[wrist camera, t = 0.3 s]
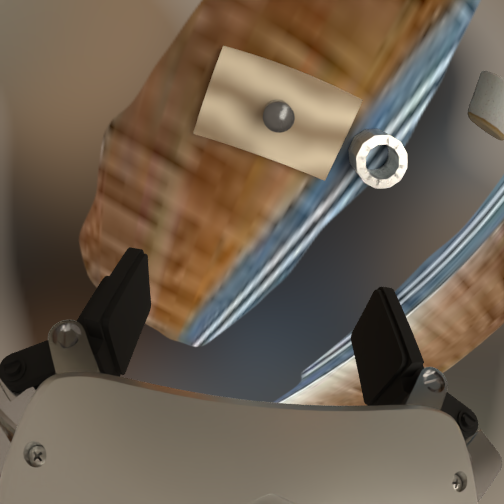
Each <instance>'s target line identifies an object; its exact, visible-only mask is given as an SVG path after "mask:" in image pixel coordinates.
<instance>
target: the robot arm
mask: <svg viewBox="0 0 504 504" xmlns="http://www.w3.org/2000/svg"><path fill="white" fill-rule="evenodd" d="M150 308H151V298H150V285H149V271H148V256H147V254H144V252H143V250H142V249H136V248H128V249H127V251H126V252H125V254H124V255H123V257H122V258H121V260H120V261H119V263H118V264H117V266H116V267H115V269H114V270H113V272H112V273H111V275H110V276H106V277H104V278H103V280H102V281H101V283H100V284H99V286H98V287H97V289H96V291H95V292H94V294H93V295H92V297H91V298H90V300H89V302H88V303H87V305H86V307H85V308H84V310H83V311H82V313H81V315H80V316H79V318H78V320H77V321H74V320H64V321H61V322H59V323H57V324H55V325H54V326H53V327H52V329H51V330H50V332H49V335H48V340H47V341H44V342H42V343H39V344H36V345H34V346H31V347H29V348H26V349H23V350H21V351H18V352H15V353H12V354H10V355H8V356H7V357H5V358H4V359H3V360H2V362H1V364H0V504H478V502H479V500H480V499H481V498H482V496H483V495H484V494H485V492H486V491H487V489H488V488H489V487H490V485H491V484H492V482H493V481H494V479H495V478H496V476H497V475H498V473H499V471H500V470H501V467H502V458H501V456H500V454H499V453H498V451H497V450H496V448H495V447H494V446H493V444H492V443H491V442H490V441H489V439H488V438H487V437H486V435H485V434H484V433H483V431H482V430H479V431H478V430H477V429H478V420H477V417H476V415H475V414H474V413H473V412H472V411H471V410H470V409H469V408H468V407H466V406H465V405H464V404H462V403H461V402H459V401H458V400H457V399H456V398H454V397H453V396H451V395H450V394H449V393H448V392H447V388H448V383H447V380H446V378H445V376H444V375H443V373H442V372H440V371H439V370H438V369H436V368H433V367H426V368H424V367H423V363H424V361H423V358H422V356H421V353H420V350H419V348H418V345H417V343H416V340H415V338H414V335H413V333H412V330H411V328H410V326H409V323H408V321H407V319H406V316H405V314H404V312H403V309H402V307H401V305H400V303H399V300H398V298H397V296H396V294H395V292H394V290H393V289H392V288H387V287H379V288H378V290H375V291H374V292H373V294H372V296H371V298H370V300H369V302H368V304H367V306H366V308H365V310H364V312H363V313H362V316H361V317H360V319H359V321H358V323H357V325H356V326H355V328H354V330H353V332H352V335H351V342H352V346H353V350H354V355H355V359H356V364H357V369H358V373H359V378H360V383H361V388H362V393H363V398H364V403H365V404H367V405H368V406H322V405H299V404H283V403H271V402H260V401H250V400H242V399H234V398H226V397H220V396H213V395H207V394H201V393H195V392H189V391H184V390H179V389H174V388H169V387H164V386H159V385H154V384H150V383H145V382H141V381H137V380H132V379H128V378H123V377H120V375H121V374H122V375H124V374H125V372H126V370H127V367H128V365H129V362H130V359H131V357H132V354H133V351H134V349H135V346H136V344H137V341H138V339H139V336H140V334H141V331H142V329H143V326H144V324H145V322H146V319H147V317H148V314H149V312H150ZM17 425H18V426H17Z"/></svg>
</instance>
